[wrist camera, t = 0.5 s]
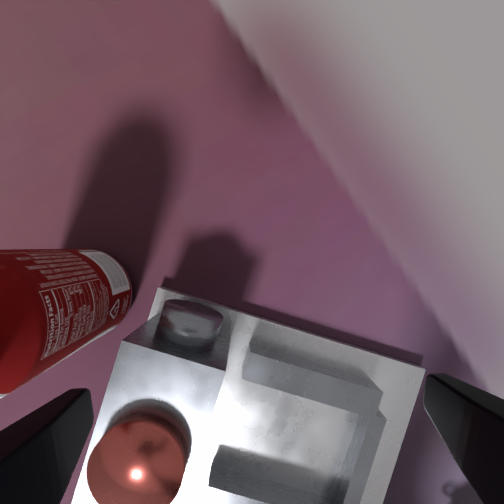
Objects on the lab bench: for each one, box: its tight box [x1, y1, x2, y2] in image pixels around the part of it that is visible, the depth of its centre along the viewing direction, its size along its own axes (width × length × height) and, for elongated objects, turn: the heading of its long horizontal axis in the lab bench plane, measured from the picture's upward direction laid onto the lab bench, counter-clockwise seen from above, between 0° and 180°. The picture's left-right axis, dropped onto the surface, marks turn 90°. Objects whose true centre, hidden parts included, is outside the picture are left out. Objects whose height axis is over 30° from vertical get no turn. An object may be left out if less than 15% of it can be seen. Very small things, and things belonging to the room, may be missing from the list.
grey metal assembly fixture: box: [71, 286, 426, 504], centre depth 19 cm, size 16×22×8 cm
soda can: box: [0, 249, 132, 398], centre depth 16 cm, size 7×7×12 cm
